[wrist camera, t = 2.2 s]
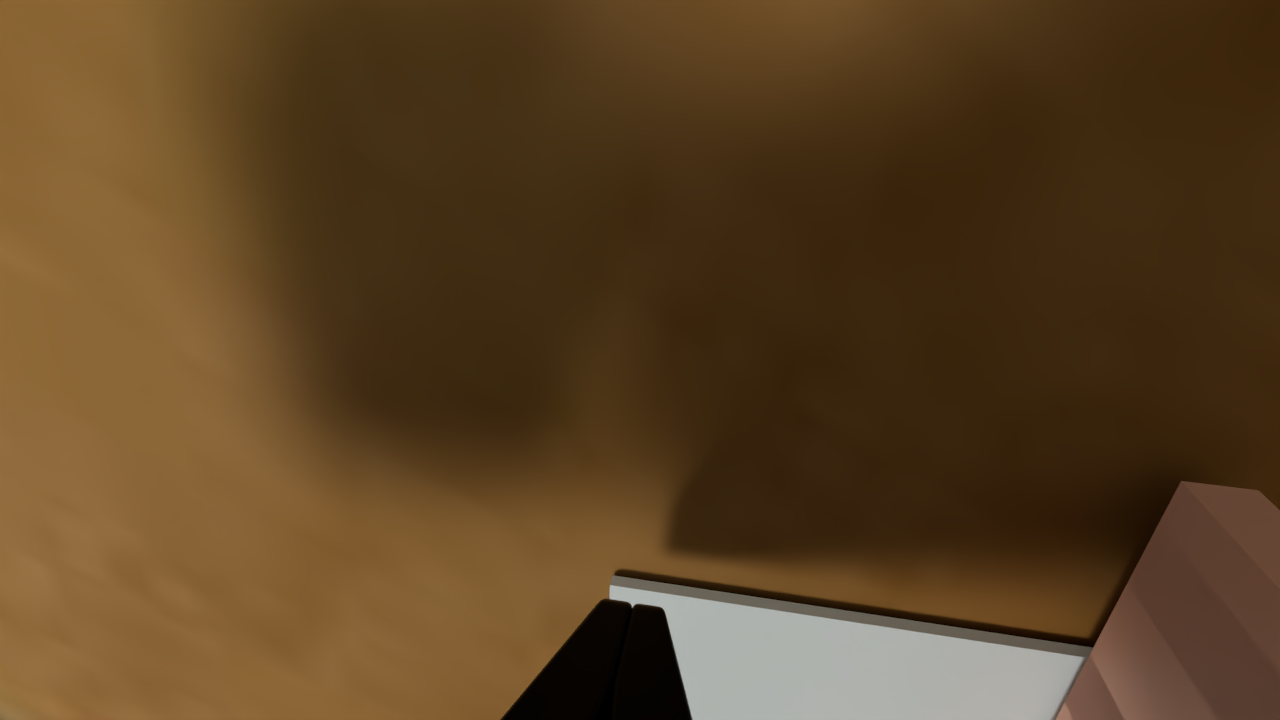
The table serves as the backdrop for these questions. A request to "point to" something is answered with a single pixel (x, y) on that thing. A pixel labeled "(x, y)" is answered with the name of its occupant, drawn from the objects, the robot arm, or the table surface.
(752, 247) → the table surface
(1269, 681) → the fence leaf
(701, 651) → the card
